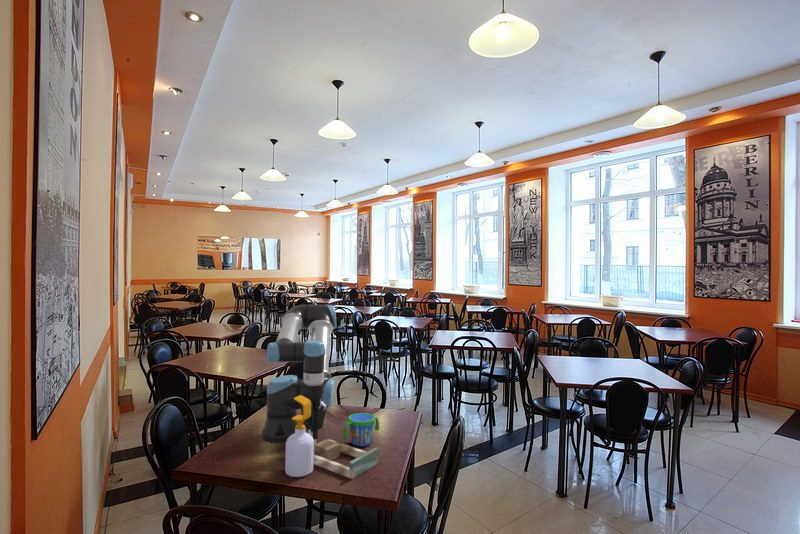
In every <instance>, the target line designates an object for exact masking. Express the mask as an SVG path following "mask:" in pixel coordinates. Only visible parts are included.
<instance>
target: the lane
mask: <svg viewBox="0 0 800 534" xmlns="http://www.w3.org/2000/svg"><path fill="white" fill-rule="evenodd" d="M327 440H330V441H333V442H335V443H338V444H340V453H342V454H345V455H348V456H350V457H354V459H353V460H351V461H349V463H348V464H349V466H347V465H344V464H342V463H339V462H337V461H333V460H328V459H326V458H323V457H320V456H317V455H315V454H314V455H313V465H315V466H318V467H320V468H323V469H325V470H327V471H331V472H334V473H335V474H337V475H341V476H343V477H346V478H348V479H351V480H354V479H355V478H357V477H358V476H360V475H362V474H363V473H365V472H366V471H368V470H369V469H371V468H373V467H374V466H376V465H378V464H379V461H380V460H379V457H380V456H379V455H380V454H379V453H380V449H379V447H374V448H371V449H369V450H368V451H367V450H363V449H360V448H358V447H354V446H351V445H349V444H346V443H343V442H342V443H341V442H339V441H336V440H332V439H330V438H328V439H327Z"/></svg>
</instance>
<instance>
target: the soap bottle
mask: <svg viewBox="0 0 800 534" xmlns="http://www.w3.org/2000/svg"><path fill="white" fill-rule="evenodd" d="M294 400H295V401H297V402H299V403H300V404H302V406H303V415H302V414H297V416H295V417H293V418H292V420H296V422H297V423H298V425H296V426H295V433H294V434H292V435H291V436H290V437H289V438H288V439H287V441H286V442H285V459H284V461H285V463H284V465H285V466H284V467H285V468H284V470H285V474H286V475H287V476H288V477H292V478H300V477H305V476H308V475H310V474H312V472H313V471H314V464H313V455H314V440H313V437H312V436H311V435H310V434H308V432H306V427H305V425H303V422H304V420H306V419H307V418H309V417H310V416H311V401H310V400H309V399H307V398H306V397H304V396H302V395H299V396H297V397H295V398H294Z"/></svg>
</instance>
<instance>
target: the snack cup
mask: <svg viewBox="0 0 800 534" xmlns="http://www.w3.org/2000/svg"><path fill="white" fill-rule="evenodd" d="M348 428H349V432H350V439H351V443H352V445H353V446H356V447H366V446H368V445H371V443H372V439H373V433H374V430H375V431H377V432H378V431H379V430H380V423H379V419H378V417H377V416H375V415H374V414H372V413H367V412H358V413H357V412H356V413H352V414H350V415H349V416H348V420H347V422H346V423H345V424H344V427H343V432H342V436H343V438H344V440H348Z"/></svg>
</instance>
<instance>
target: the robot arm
mask: <svg viewBox="0 0 800 534" xmlns="http://www.w3.org/2000/svg"><path fill="white" fill-rule="evenodd" d="M336 328H337V314H336V308H335V306H334V305H333V304H326V303H325V304H298V305H296V306H294V307H292V308H290V309H288V310H287V311H286V312H285V313H284V315H283V316H282V319H281V328H280V330H279V332H278V333H279V334H278V336H277V339H276V340H275V342H269V343H268V344H267V347H266V360H267V361H268V362H269V363H276V364H277V363H303V375H302V377H303V379H299V378H298V376H297V375H295V374H294V375H293V374H288V375H287V374H286V375H281V376H278V377H275V378H272V379H270V380H269V381H268V383H267V388H266V417H265V422H264V424H263V428H262V430H261V439H262V440H263V441H265V442H268V443H275V444H278V443H286V441H287V439H288V438H289V437H290V436H291V435H292V434H294V433H295V426H296V425H298V423H297V422H296V420H292V418H293V417H295V416H297V415H298V414H297V411H298V410H300V411H301V415H303V406H302V404H300V403H299V402H297V401H295V400H294V398H295V397H297V396H299V395H302V396H304V397H306V398H307V399H309V400H310V401H311V416H310V417H309V418H307V419H306V420H304V422H303V425H305V428H306V430H307V433H308V434H310V435H311V436H312V437H313V440H314V444H317V441H318V440H317V439H318V437H319V436H318V435H319V433H318V432H319V430H321V429H323V426H324V420H325V417H326V416H325V415H326V412H327V409H329V408H331V406H332V404H333V400H334V395H335V387H336V380H335V378H332V374H331V373H330V372H329V364H330V363H329V361H330V360H329V359H330V340H331V339H330V338H331V334H332V332H333V331H334V329H336ZM301 329H302V330H304V329H308V332H309V333H310V340H308V341H305V342H296V341H297V338H298V334H299V331H300V330H301Z"/></svg>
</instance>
